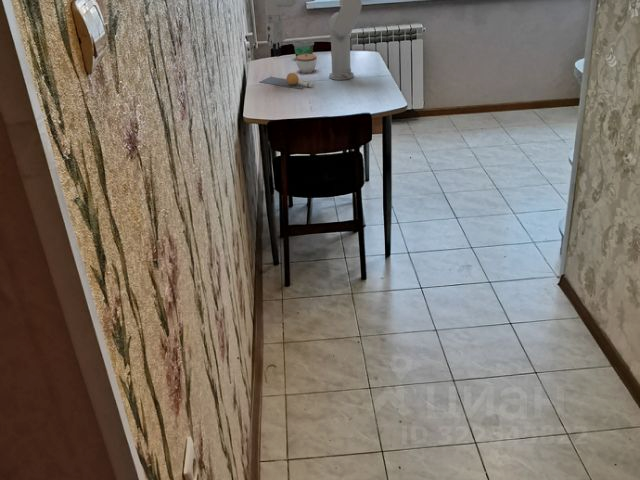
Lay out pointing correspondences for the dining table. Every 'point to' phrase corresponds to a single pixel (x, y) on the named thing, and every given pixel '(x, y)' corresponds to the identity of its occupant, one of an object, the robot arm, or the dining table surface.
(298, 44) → the food container
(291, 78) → the ball
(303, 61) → the lidded jar
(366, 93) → the dining table surface
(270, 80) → the grey flat board
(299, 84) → the pin
